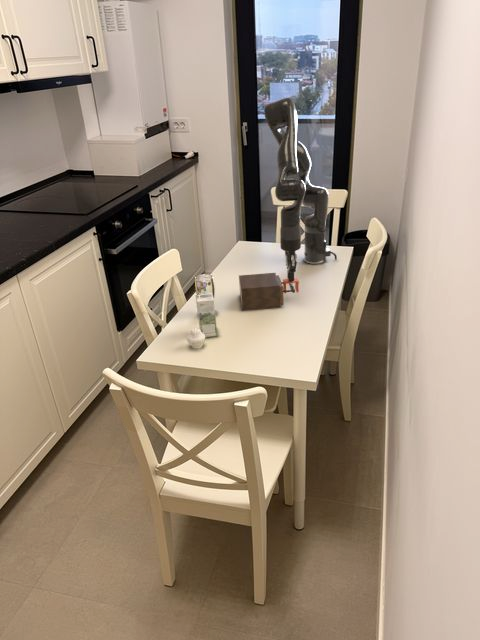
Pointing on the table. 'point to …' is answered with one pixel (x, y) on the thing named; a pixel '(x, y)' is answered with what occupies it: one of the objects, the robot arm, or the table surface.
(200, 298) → the syrup box
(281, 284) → the drawer
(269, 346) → the table surface
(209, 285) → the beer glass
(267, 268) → the table surface
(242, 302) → the cabinet
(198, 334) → the muffin
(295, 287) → the orange angular part
